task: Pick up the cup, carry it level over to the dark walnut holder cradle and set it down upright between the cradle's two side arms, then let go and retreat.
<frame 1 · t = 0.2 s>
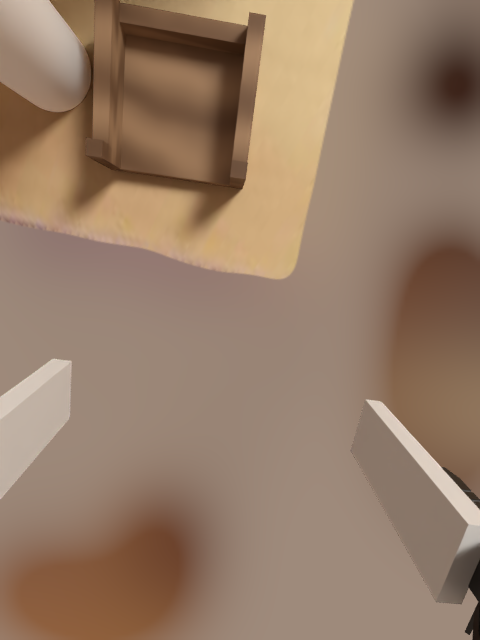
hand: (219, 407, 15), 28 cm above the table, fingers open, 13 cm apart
cup: (52, 69, 35), on the table
holder: (183, 111, 36), on the table
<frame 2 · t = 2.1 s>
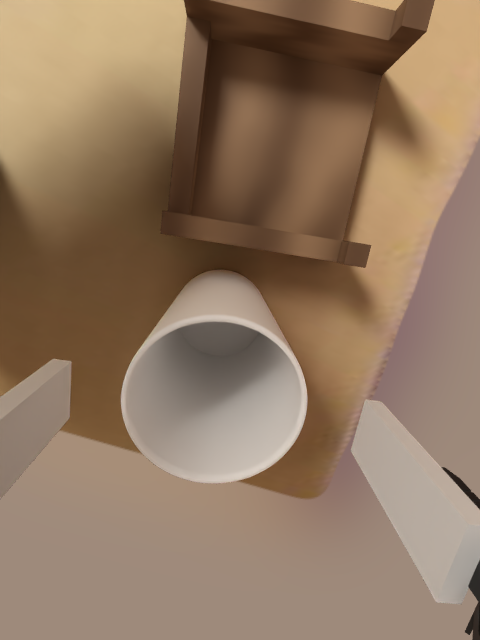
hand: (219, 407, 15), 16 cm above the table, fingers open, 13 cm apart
cup: (220, 314, 30), on the table
holder: (270, 151, 26), on the table
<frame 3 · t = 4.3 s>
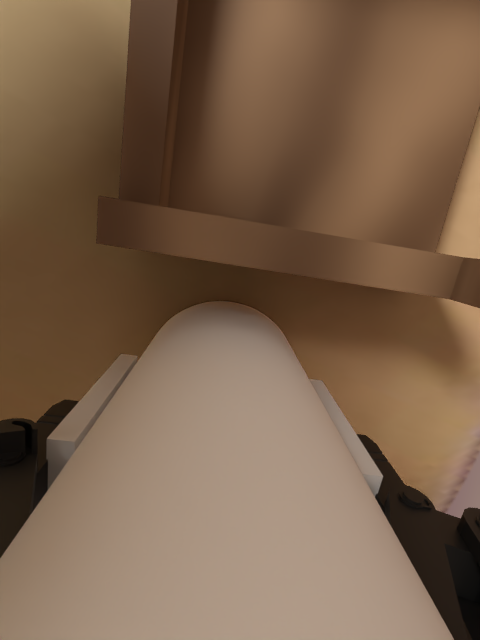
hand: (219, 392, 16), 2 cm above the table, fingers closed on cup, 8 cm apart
cup: (220, 371, 18), on the table, touching gripper
holder: (308, 96, 15), on the table
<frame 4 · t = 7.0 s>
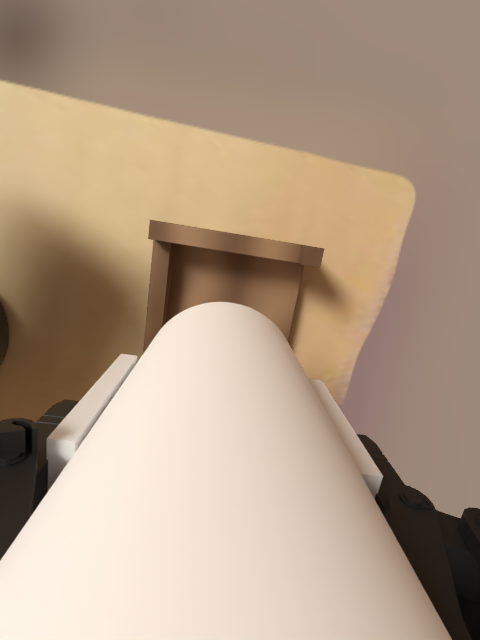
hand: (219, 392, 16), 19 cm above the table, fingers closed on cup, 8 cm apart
cup: (220, 372, 18), point 16 cm above the table, touching gripper
holder: (223, 307, 34), on the table
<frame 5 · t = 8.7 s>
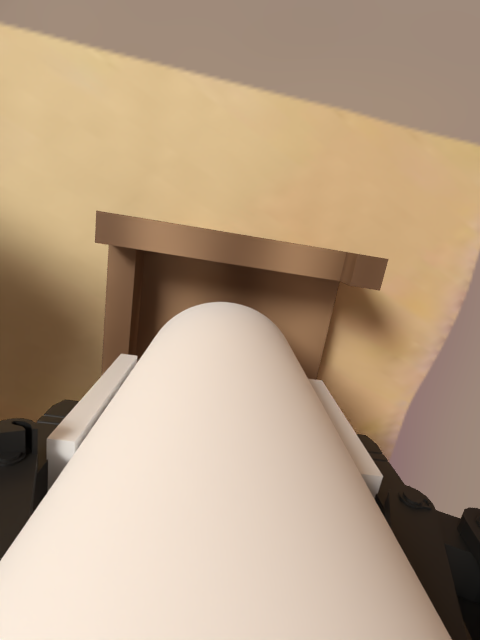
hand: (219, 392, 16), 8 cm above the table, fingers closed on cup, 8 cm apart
cup: (220, 372, 18), point 5 cm above the table, touching gripper
holder: (220, 340, 23), on the table
when the fingers open (6 cm above the table, at t = 10.1 s): cup drops 2 cm, resting on holder.
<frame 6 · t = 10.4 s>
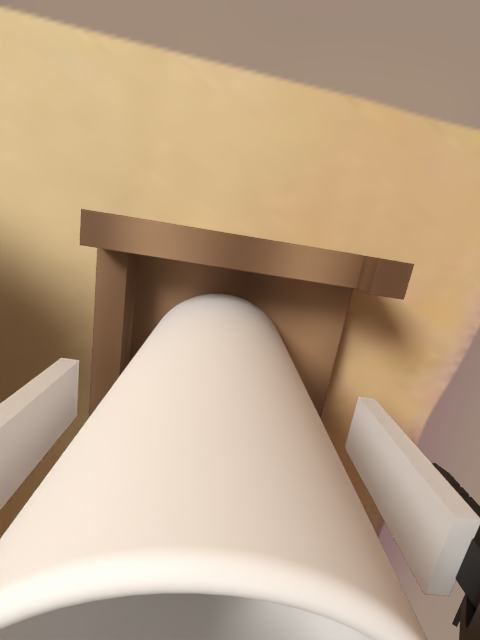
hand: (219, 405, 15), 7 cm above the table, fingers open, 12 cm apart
cup: (216, 358, 20), point 1 cm above the table, touching holder
holder: (221, 351, 22), on the table
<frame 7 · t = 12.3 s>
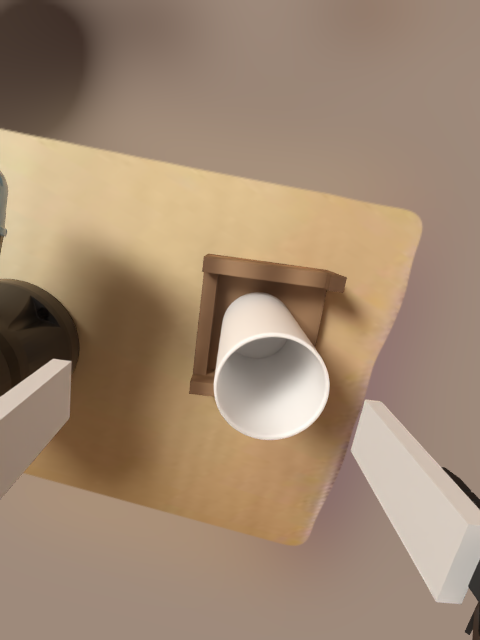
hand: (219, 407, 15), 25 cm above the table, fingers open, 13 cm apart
cup: (256, 326, 39), point 1 cm above the table, touching holder
holder: (258, 323, 40), on the table
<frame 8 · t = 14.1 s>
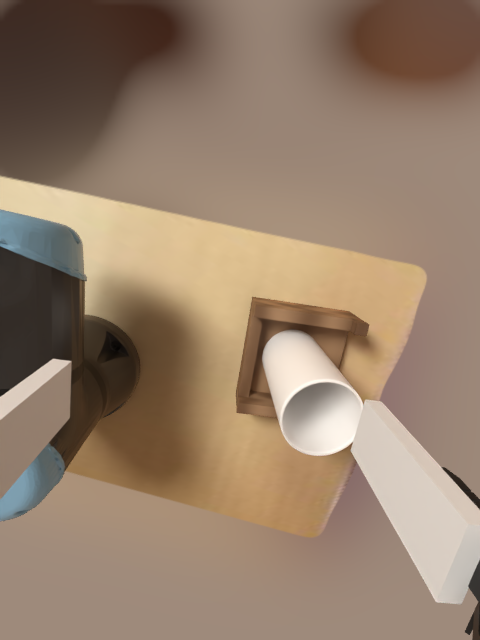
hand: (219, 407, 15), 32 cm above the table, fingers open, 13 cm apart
cup: (290, 356, 47), point 1 cm above the table, touching holder
holder: (290, 353, 48), on the table
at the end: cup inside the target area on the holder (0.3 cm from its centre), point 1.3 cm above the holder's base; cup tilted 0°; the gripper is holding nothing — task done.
